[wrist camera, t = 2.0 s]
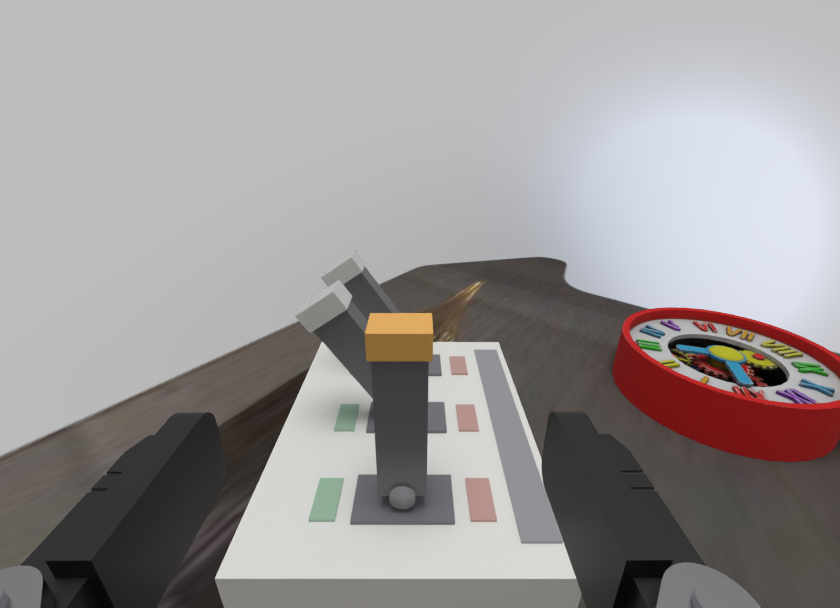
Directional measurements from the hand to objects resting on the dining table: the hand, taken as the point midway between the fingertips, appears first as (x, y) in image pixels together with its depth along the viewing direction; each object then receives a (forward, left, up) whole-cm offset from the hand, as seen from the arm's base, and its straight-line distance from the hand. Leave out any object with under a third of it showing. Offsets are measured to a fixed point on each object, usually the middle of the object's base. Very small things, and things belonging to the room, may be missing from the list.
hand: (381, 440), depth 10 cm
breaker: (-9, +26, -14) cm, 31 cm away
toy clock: (+21, +38, -20) cm, 48 cm away
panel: (-7, +18, -19) cm, 27 cm away
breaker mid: (-7, +18, -14) cm, 24 cm away
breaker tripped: (-4, +11, -14) cm, 18 cm away
